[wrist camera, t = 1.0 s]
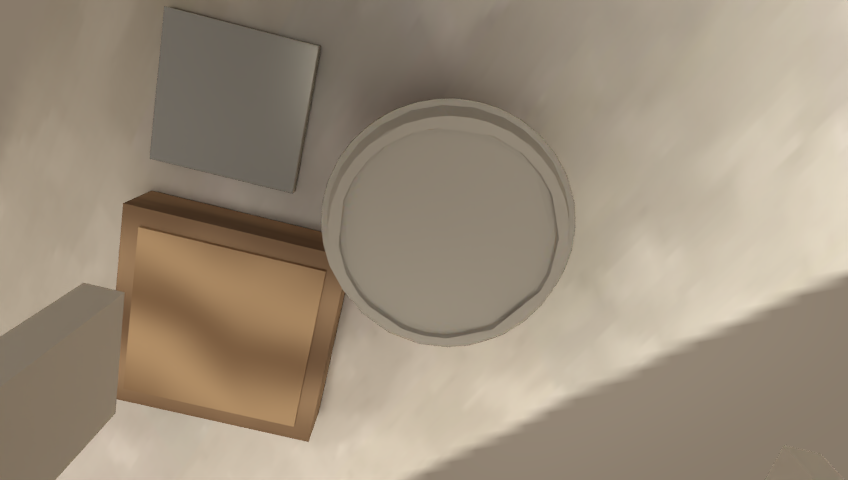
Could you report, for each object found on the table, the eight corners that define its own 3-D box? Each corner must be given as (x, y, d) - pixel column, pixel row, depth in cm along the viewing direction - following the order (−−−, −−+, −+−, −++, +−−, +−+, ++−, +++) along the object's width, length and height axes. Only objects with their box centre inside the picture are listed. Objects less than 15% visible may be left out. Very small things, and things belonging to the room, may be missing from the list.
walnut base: (151, 190, 32) (120, 204, 29) (356, 240, 32) (348, 258, 29) (133, 370, 35) (104, 399, 32) (318, 411, 36) (307, 444, 33)
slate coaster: (169, 7, 29) (164, 6, 28) (321, 46, 29) (318, 46, 29) (155, 156, 31) (149, 158, 31) (295, 191, 32) (292, 193, 31)
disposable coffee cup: (383, 269, 33) (353, 378, 22) (340, 108, 30) (280, 136, 19) (543, 236, 32) (600, 332, 21) (514, 67, 29) (562, 70, 18)
